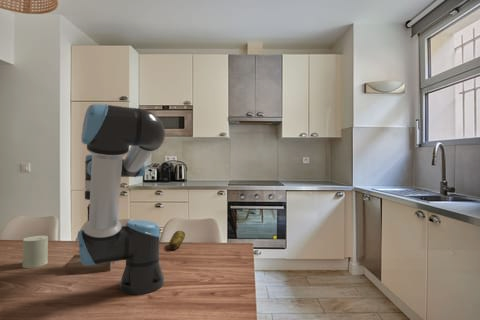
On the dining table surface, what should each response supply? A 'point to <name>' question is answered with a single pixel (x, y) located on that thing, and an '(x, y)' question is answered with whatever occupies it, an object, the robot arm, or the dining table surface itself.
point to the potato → (176, 239)
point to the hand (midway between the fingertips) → (93, 243)
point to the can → (35, 251)
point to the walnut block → (77, 267)
